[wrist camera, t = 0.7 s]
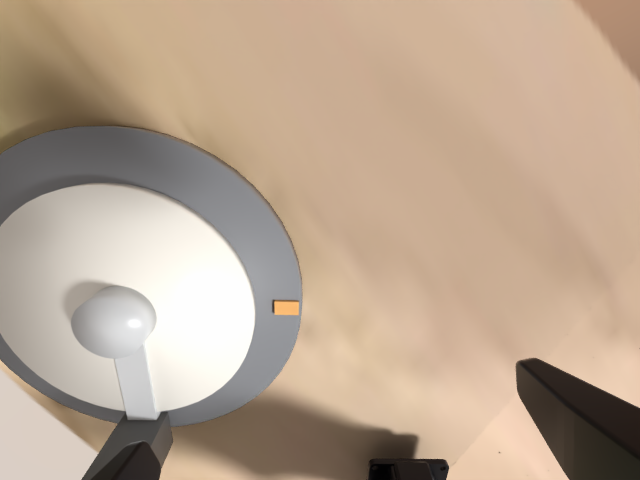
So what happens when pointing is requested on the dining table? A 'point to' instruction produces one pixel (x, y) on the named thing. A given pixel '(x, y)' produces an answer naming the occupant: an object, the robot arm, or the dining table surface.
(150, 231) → the dial
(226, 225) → the dial base
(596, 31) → the dining table surface
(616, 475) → the robot arm
